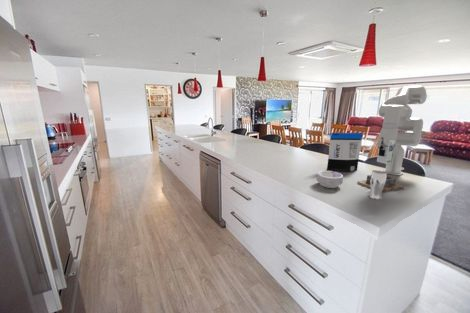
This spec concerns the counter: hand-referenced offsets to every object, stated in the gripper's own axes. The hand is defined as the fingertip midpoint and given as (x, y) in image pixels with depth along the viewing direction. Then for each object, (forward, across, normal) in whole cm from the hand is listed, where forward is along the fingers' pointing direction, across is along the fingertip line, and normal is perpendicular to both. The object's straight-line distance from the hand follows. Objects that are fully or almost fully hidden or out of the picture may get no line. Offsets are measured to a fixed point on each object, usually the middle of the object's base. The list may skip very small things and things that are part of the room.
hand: (385, 155), depth 131 cm
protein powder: (+21, -5, -35) cm, 41 cm away
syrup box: (+5, 0, 0) cm, 5 cm away
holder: (+20, 0, 0) cm, 20 cm away
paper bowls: (+21, +31, -11) cm, 39 cm away
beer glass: (+20, +20, +12) cm, 31 cm away
